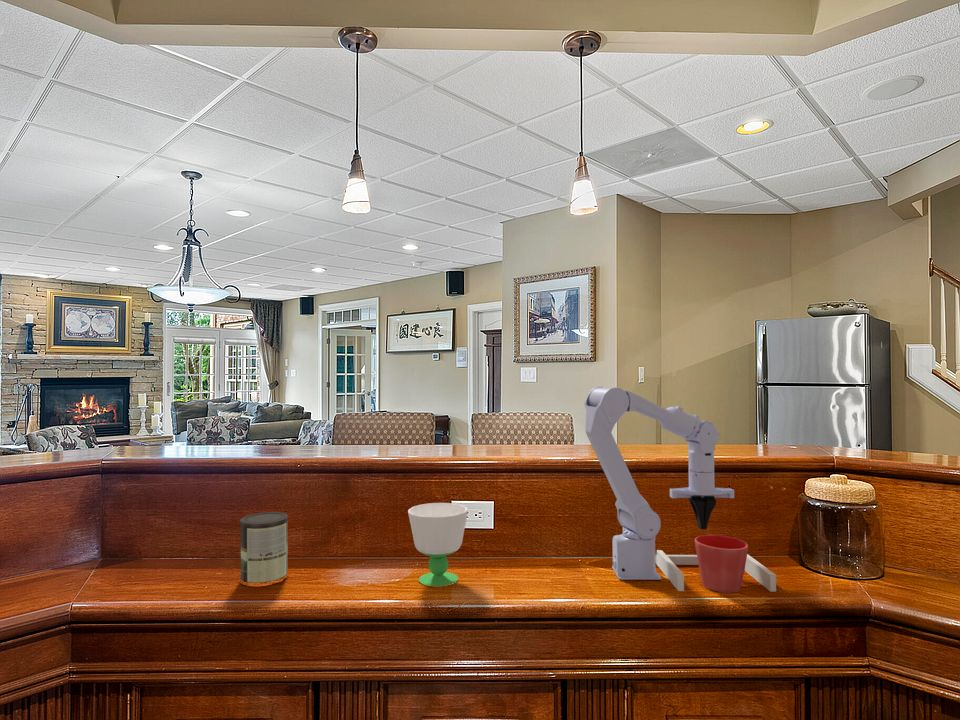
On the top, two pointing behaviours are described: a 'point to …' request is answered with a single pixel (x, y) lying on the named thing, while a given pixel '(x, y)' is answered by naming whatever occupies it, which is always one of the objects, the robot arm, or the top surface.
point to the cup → (438, 537)
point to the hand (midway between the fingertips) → (702, 528)
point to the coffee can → (264, 547)
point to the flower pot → (721, 562)
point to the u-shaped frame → (677, 577)
